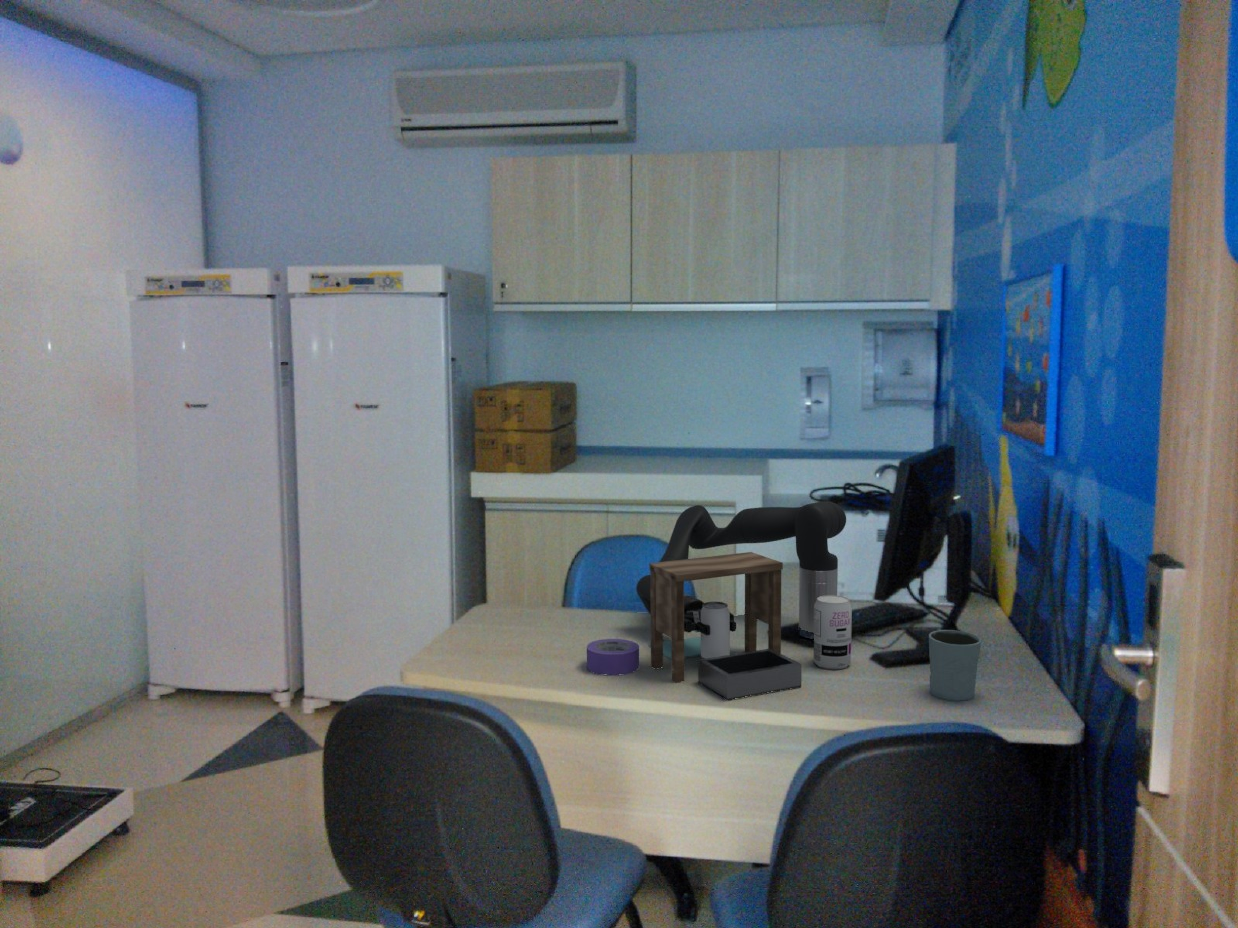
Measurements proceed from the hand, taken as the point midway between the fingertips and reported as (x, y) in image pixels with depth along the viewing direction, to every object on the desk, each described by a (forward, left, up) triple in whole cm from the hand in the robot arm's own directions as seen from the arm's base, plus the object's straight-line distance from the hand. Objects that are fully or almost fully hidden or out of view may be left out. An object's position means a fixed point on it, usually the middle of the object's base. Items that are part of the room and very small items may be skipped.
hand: (721, 629), depth 216 cm
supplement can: (-25, 0, -9) cm, 27 cm away
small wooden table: (+1, -2, -9) cm, 9 cm away
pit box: (-4, +11, -9) cm, 15 cm away
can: (+1, -2, -7) cm, 8 cm away
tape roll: (+24, -4, -10) cm, 26 cm away
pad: (+6, -16, -9) cm, 19 cm away
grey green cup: (-44, +21, -9) cm, 50 cm away
